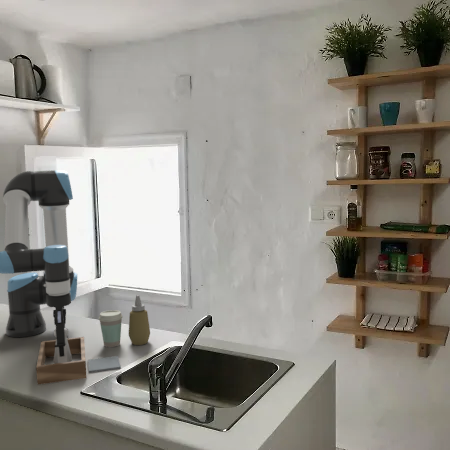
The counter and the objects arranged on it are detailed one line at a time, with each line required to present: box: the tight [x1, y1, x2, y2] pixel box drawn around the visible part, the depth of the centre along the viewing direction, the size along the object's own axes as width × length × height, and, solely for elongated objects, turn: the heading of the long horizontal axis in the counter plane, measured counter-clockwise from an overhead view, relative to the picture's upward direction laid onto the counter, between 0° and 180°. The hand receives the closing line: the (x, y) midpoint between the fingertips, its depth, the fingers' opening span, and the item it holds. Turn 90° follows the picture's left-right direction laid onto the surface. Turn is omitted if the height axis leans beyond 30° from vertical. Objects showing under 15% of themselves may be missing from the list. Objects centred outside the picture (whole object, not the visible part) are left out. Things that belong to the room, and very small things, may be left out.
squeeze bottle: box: [128, 294, 151, 346], centre depth 185 cm, size 8×8×18 cm
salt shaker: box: [53, 327, 73, 364], centre depth 165 cm, size 6×6×13 cm
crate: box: [35, 336, 88, 385], centre depth 165 cm, size 24×14×6 cm, turn 17°
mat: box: [87, 355, 121, 373], centre depth 166 cm, size 10×10×1 cm
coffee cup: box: [98, 309, 123, 348], centre depth 185 cm, size 8×8×12 cm
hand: (62, 361), depth 165 cm, fingers closed on salt shaker, 6 cm apart
